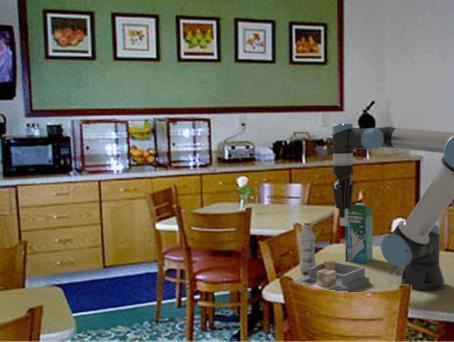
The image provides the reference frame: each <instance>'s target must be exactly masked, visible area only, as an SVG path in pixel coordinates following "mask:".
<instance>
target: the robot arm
mask: <svg viewBox="0 0 454 342" xmlns="http://www.w3.org/2000/svg"><path fill="white" fill-rule="evenodd" d="M331 139H332V140H331V141H332V164H334V165H332V174H333V175H334V176H335V183H332V184H331V187H332V190H333V195H334V203H335V208H336V209H338V210H339V226H341V227H345V226H348V208H351V207H349V206H351V205H352V201H353V200H352V199H353V193H354V192H353V191H354V185H355V181H354V180H352V178H351V175H353V174H354V165H353V164H354V150H355V149H356V150H370V151H371V150H379V149H380V148H391V149H401V150H409V151H410V150H411V151H418V152H419V151H420V152H428V153H439V154H443V156H442V157H441V158H440V163H441V168H440V169H439V170H438V172H437V174H436V175H435V176H434V178H433V180H432V181H431V182H430V184H429V185H428V187H427V188H426V189H425V191H424V193H423V195H422V196H421V198H420V199H419V200H418V202H417V203H416V205H415V206H414V208H413V210H412V211H411V213H410V214H409V216H408V217H407V219H406V220H401V221H399V222H398V224H397V225H396V227H394V230H393V231H392V232H391V233H388V234H387V235H386V236H384V237H383V238H382V240H381V243H380V250H381V254H382V256H383V258H384V259H385V261H387V262H388V263H389V264H390V265H392V266H393V267H398V268H399V267H404V268H403V272H402V274H401V277H400V280H401V281H400V283H401V285H402V284H409V285H412V290H419V291H435V290H440V289H442V288H444V287H445V278H444V275H443V272H442V269H441V267H440V266H441V265H440V249H441V248H440V246H441V245H440V244H441V243H440V241H441V240H440V237H441V234H440V227H439V225H438V224H437V223H438V221H439V220H440V218H441V217H443V214H444V213H445V211H446V210H447V208H448V207H449V206H450V204H451V203H452V201H453V200H454V131H452V132H451V131H442V130H441V131H440V130H439V131H438V130H429V129H428V130H425V129H414V128H403V127H394V126H382V127H368V128H367V127H366V128H354V125H353V123H349V122H346V123H335V124H333V125H332V134H331Z"/></svg>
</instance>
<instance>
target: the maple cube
mask: <svg viewBox="0 0 454 342" xmlns="http://www.w3.org/2000/svg"><path fill="white" fill-rule="evenodd" d="M317 285H318V286H323V287H327V288H329V287H331V286H334V285H336V271H333V270H328V269H323V270H320V271H317Z"/></svg>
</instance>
